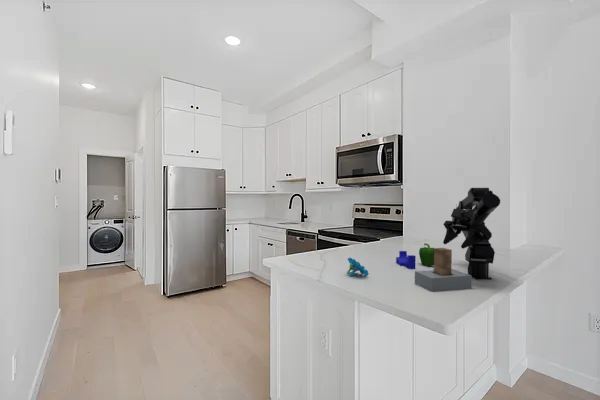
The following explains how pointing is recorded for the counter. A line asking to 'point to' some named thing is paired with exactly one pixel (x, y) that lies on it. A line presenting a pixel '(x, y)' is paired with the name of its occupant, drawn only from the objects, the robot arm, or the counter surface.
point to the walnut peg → (442, 261)
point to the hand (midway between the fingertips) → (452, 245)
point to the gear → (356, 267)
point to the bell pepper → (427, 255)
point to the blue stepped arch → (406, 260)
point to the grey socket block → (443, 280)
